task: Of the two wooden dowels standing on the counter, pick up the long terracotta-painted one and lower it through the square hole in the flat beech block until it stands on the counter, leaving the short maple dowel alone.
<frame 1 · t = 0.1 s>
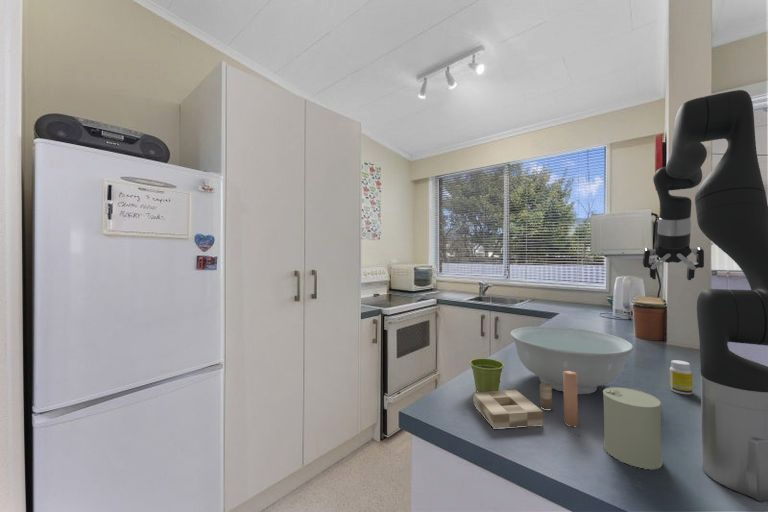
hand: (671, 278, 102), 31 cm above the counter, tool tilted 20°, fingers open, 8 cm apart
socket block: (505, 415, 79), on the counter
can: (631, 455, 63), on the counter
supplement bottle: (680, 392, 91), on the counter
short dowel: (545, 408, 82), on the counter
bowl: (567, 384, 97), on the counter
long dowel: (571, 424, 74), on the counter
plant pot: (487, 393, 92), on the counter
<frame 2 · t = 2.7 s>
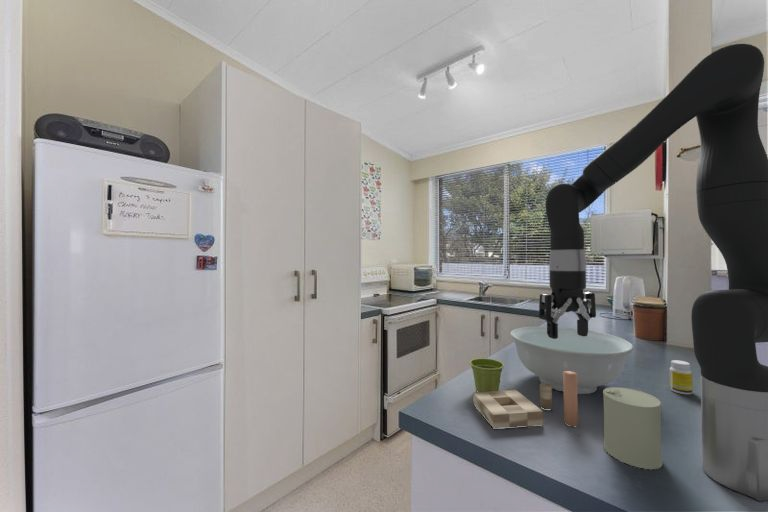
hand: (567, 336, 75), 20 cm above the counter, tool pointing down, fingers open, 8 cm apart
nothing on the counter moved.
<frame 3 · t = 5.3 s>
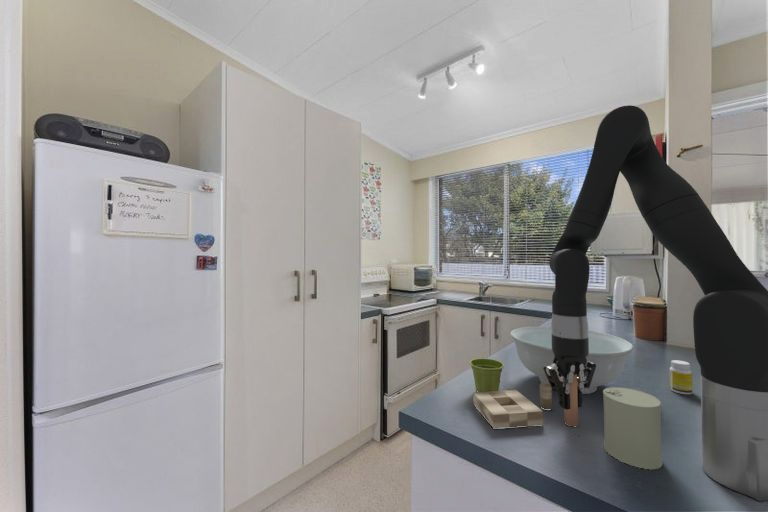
hand: (570, 406, 74), 4 cm above the counter, tool pointing down, fingers closed on long dowel, 2 cm apart
long dowel: (571, 424, 74), on the counter, touching gripper
everything else where it was.
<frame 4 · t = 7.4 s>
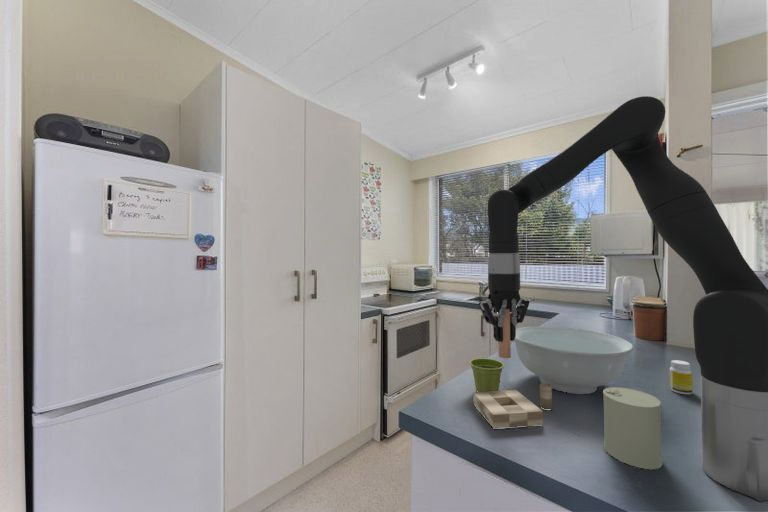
hand: (504, 340, 79), 19 cm above the counter, tool pointing down, fingers closed on long dowel, 2 cm apart
long dowel: (504, 356, 79), point 15 cm above the counter, touching gripper
everything else where it was.
when the fingers open (5 cm above the counter, at t = 9.8 s): long dowel stays where it is, resting in socket block.
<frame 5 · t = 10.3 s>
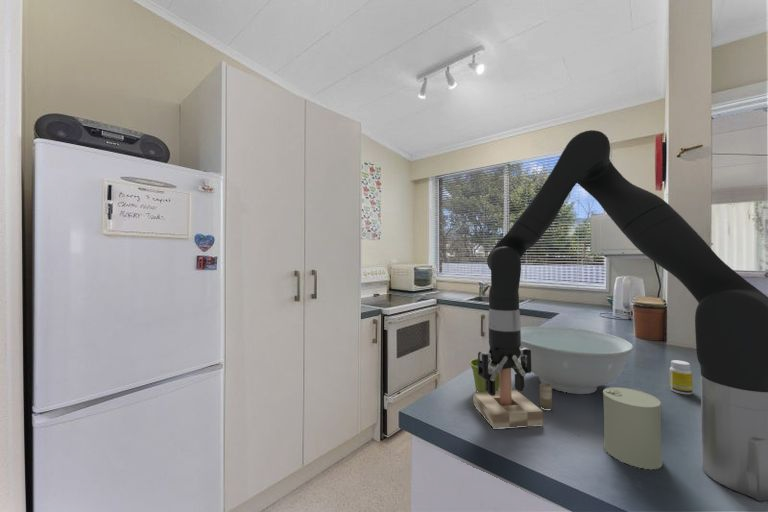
hand: (505, 392, 79), 6 cm above the counter, tool pointing down, fingers open, 7 cm apart
long dowel: (505, 415, 79), resting in socket block
everything else where it was.
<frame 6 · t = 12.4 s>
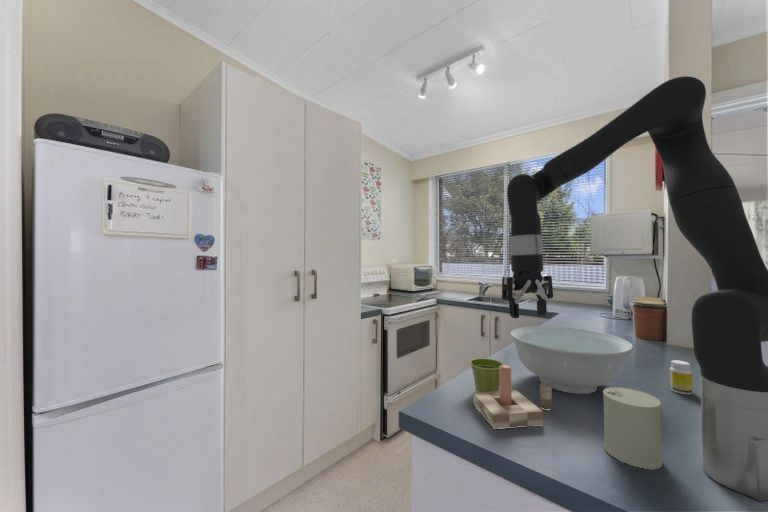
hand: (528, 316, 81), 24 cm above the counter, tool pointing down, fingers open, 8 cm apart
nothing on the counter moved.
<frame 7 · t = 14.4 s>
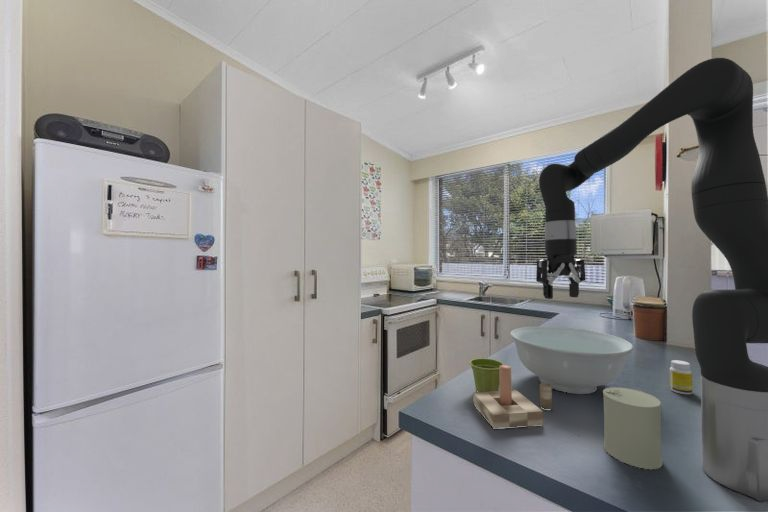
hand: (561, 297, 86), 28 cm above the counter, tool pointing down, fingers open, 8 cm apart
nothing on the counter moved.
at the end: long dowel 0.1 cm off-centre on the socket block, point 0.0 cm above the socket block's base; long dowel tilted 0°; the gripper is holding nothing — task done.
